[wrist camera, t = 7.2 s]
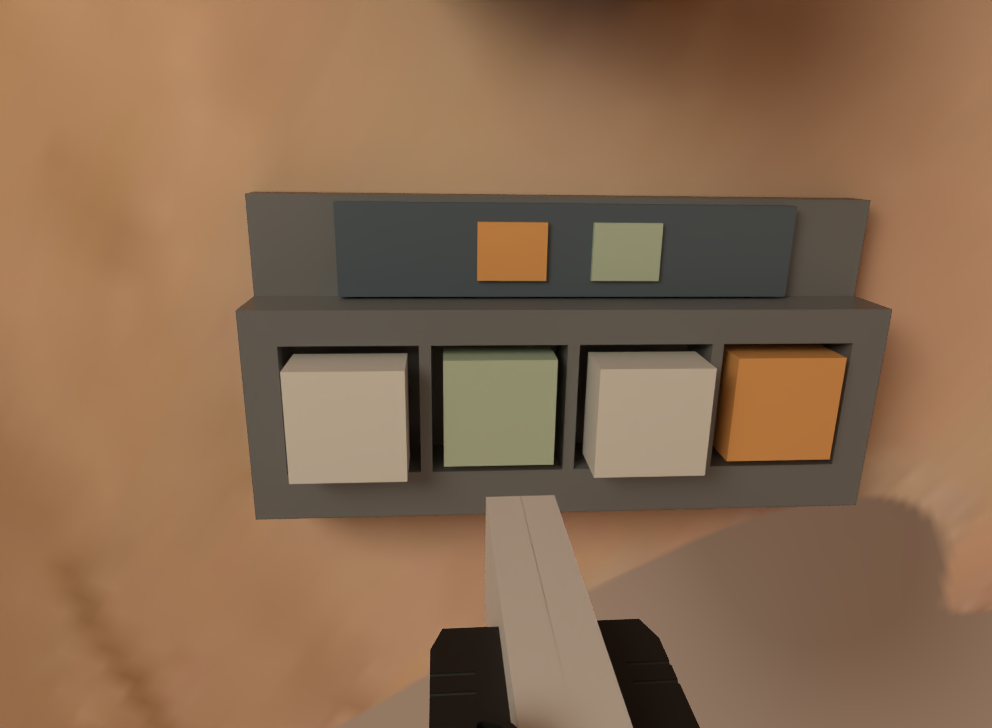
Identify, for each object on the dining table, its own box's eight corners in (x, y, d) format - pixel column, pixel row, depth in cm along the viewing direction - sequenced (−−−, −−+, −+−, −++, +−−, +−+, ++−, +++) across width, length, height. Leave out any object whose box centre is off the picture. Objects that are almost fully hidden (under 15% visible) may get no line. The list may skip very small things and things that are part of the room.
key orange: (706, 438, 26) (726, 461, 25) (717, 342, 25) (739, 358, 23) (802, 437, 27) (829, 459, 25) (816, 342, 26) (846, 357, 24)
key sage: (443, 443, 26) (443, 466, 24) (443, 344, 25) (443, 360, 23) (545, 441, 26) (553, 464, 24) (548, 343, 25) (558, 360, 23)
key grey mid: (582, 452, 25) (594, 477, 23) (588, 352, 24) (600, 369, 22) (685, 451, 25) (704, 475, 23) (695, 351, 24) (717, 368, 22)
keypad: (278, 475, 28) (256, 519, 24) (254, 191, 24) (224, 198, 21) (808, 464, 29) (855, 504, 26) (851, 198, 26) (911, 205, 23)
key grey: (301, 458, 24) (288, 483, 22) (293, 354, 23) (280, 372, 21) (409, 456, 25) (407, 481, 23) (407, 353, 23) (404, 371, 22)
